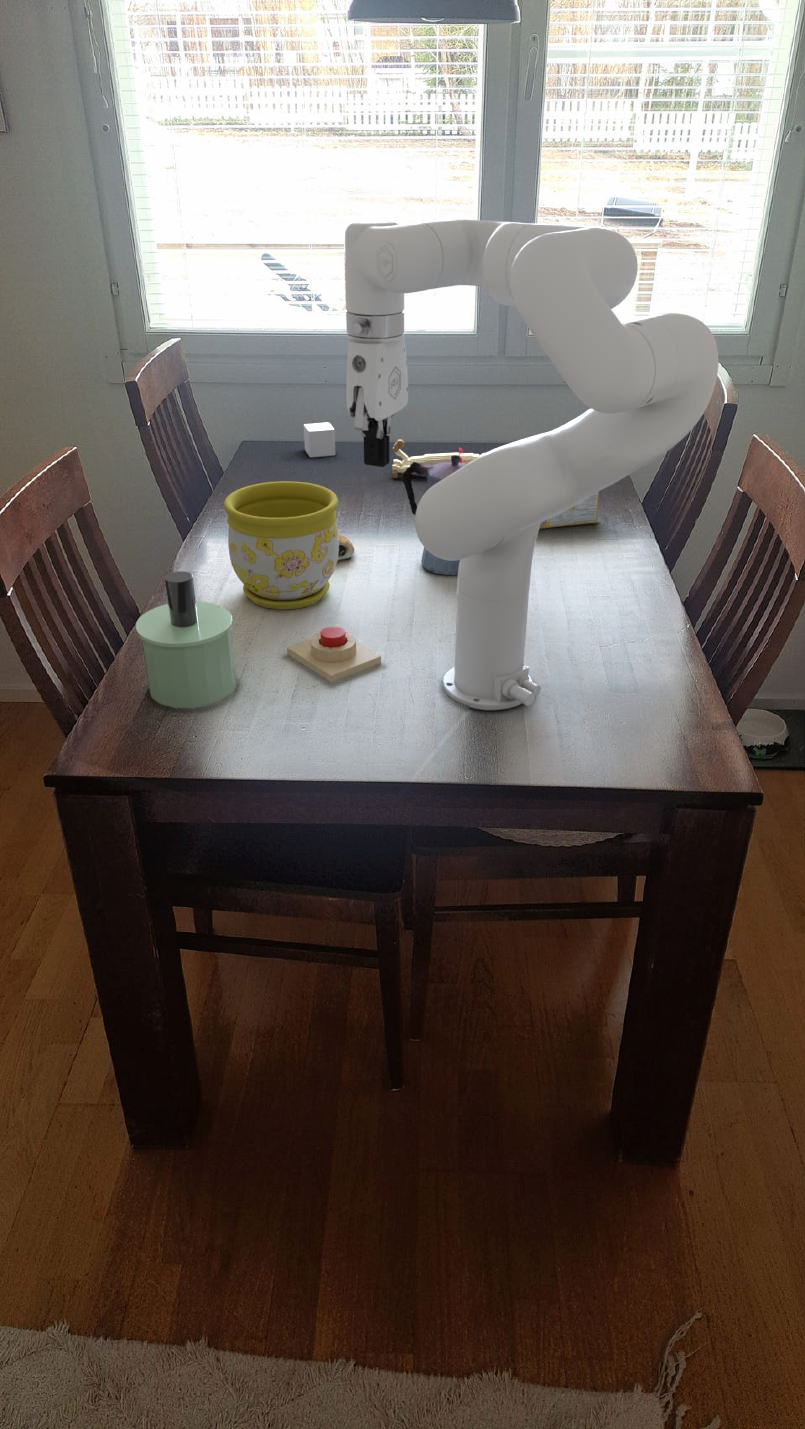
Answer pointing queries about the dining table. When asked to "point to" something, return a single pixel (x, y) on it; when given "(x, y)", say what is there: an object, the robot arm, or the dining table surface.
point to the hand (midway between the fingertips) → (376, 464)
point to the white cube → (319, 439)
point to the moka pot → (433, 477)
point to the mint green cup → (190, 673)
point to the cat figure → (426, 458)
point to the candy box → (576, 514)
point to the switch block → (334, 657)
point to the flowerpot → (283, 542)
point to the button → (333, 637)
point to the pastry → (345, 548)
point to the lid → (183, 617)
